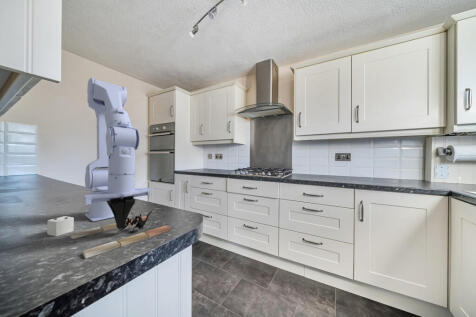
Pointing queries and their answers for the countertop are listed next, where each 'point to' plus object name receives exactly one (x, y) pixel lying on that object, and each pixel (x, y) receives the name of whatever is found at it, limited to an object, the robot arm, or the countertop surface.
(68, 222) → the white rectangular block
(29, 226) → the countertop surface
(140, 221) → the creature
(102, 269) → the countertop surface
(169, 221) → the countertop surface
